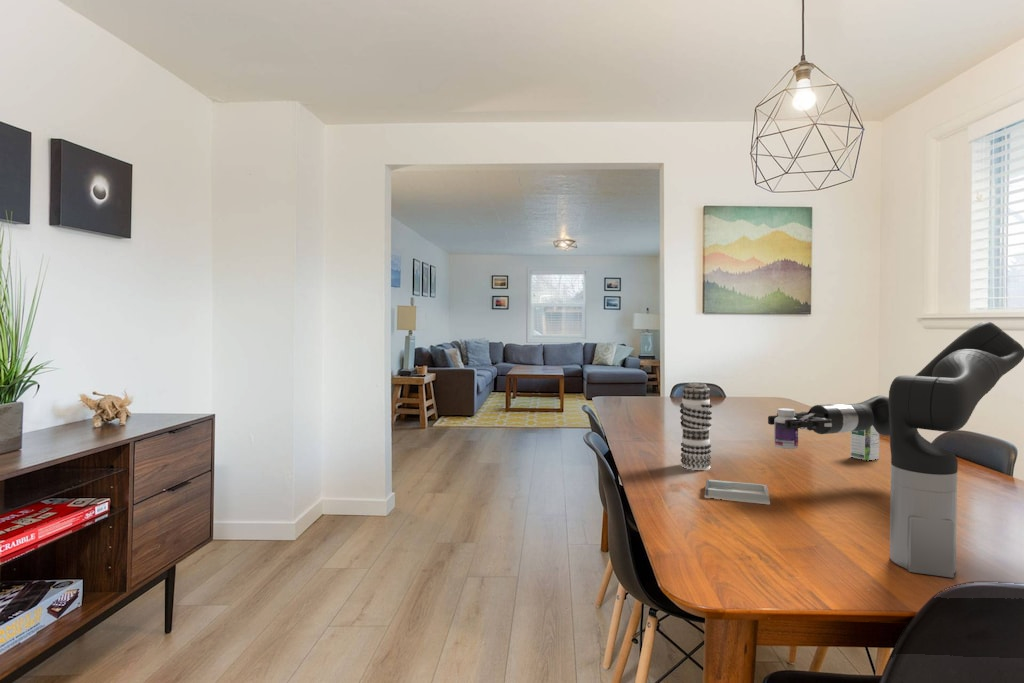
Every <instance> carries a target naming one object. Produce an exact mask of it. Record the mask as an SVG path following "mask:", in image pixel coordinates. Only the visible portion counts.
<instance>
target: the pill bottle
mask: <svg viewBox="0 0 1024 683" xmlns="http://www.w3.org/2000/svg"><path fill="white" fill-rule="evenodd" d="M795 412H796V410H795V409H794V408H789V407H788V408H786V407H785V408H783V407H782V408H779V407H778V408H777V412H776V414H777V413H778V417H776V418H775V419H774V426H773V427H774V434H773V437H774V438H773V439H774V440H773V441H774V444H773V445H774V446H775V448H778V449H781V450H796V449H798V448H799V428H796V429H786V428H785V420H790V419H796V418H794V416H795Z"/></svg>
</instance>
